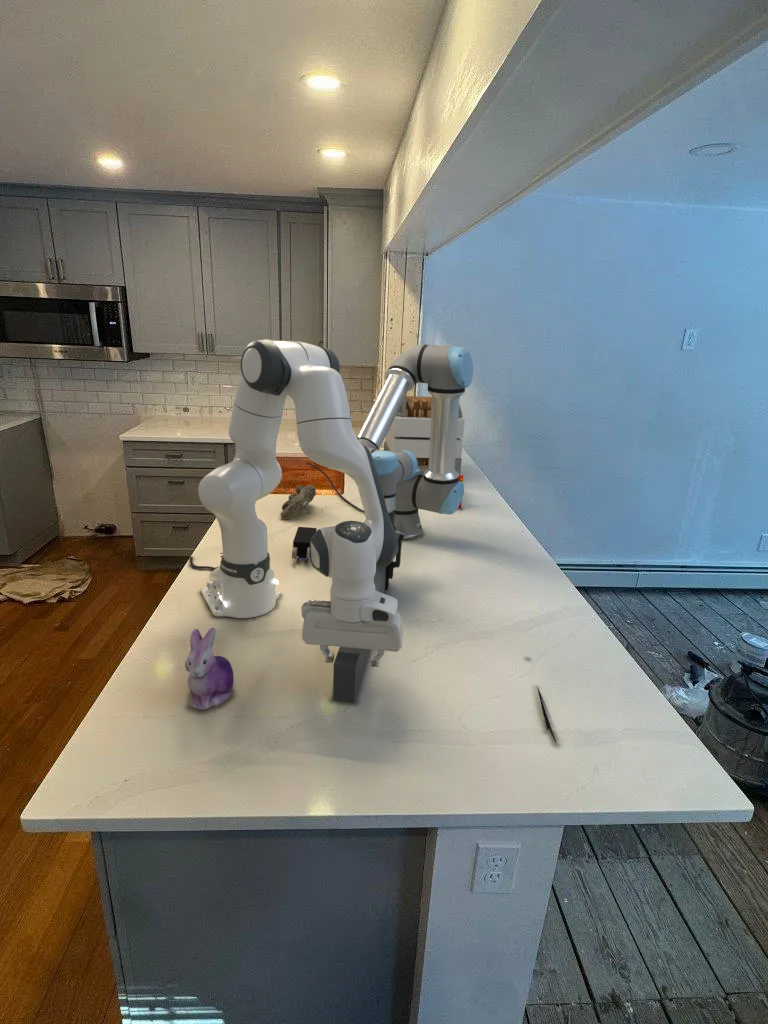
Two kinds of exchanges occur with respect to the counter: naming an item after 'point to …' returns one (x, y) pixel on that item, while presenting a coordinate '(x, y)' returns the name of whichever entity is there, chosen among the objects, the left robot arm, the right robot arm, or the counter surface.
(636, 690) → the counter surface
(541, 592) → the counter surface
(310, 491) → the fossil
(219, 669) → the figurine
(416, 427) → the white slatted crate
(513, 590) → the counter surface
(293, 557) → the figurine character
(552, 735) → the feather
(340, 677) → the beam
